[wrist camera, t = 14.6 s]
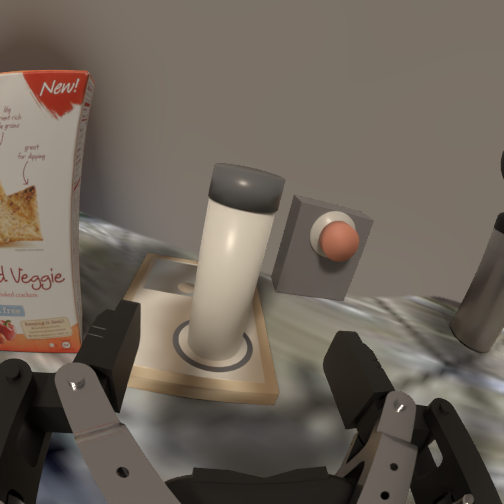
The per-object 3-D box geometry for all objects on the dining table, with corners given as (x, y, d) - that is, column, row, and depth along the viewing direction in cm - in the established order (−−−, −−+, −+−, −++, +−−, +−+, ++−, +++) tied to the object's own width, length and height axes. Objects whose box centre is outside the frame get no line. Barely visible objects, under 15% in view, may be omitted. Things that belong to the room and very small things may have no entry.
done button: (346, 257, 34) (357, 224, 33) (351, 264, 33) (364, 230, 31) (314, 252, 34) (325, 217, 32) (318, 258, 32) (330, 222, 30)
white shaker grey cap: (239, 329, 26) (278, 173, 20) (242, 364, 21) (292, 185, 16) (188, 321, 25) (215, 160, 20) (183, 357, 21) (212, 168, 15)
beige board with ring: (251, 280, 38) (254, 269, 38) (273, 404, 20) (279, 392, 19) (147, 263, 36) (148, 251, 35) (94, 378, 18) (90, 363, 17)
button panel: (334, 286, 42) (360, 211, 38) (344, 301, 38) (374, 221, 34) (271, 277, 41) (294, 194, 36) (275, 293, 37) (302, 202, 32)
